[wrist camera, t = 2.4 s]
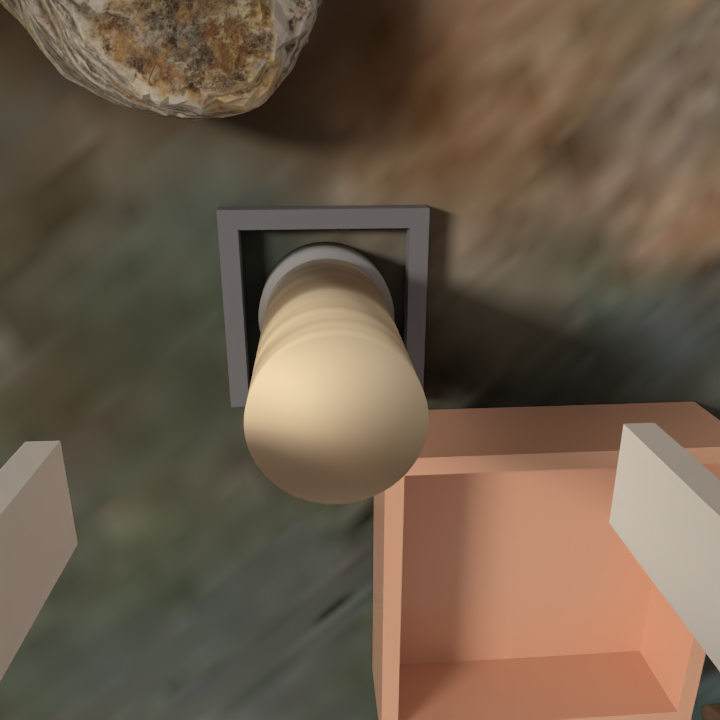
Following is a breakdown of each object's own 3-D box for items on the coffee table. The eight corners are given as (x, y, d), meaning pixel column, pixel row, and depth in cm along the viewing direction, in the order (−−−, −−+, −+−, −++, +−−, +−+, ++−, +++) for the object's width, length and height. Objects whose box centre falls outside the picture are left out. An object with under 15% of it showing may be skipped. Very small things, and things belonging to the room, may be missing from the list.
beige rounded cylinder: (258, 242, 28) (225, 327, 17) (389, 241, 28) (444, 323, 17) (264, 366, 30) (239, 517, 19) (387, 363, 30) (435, 509, 19)
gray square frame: (219, 206, 27) (216, 210, 26) (425, 204, 28) (429, 208, 27) (233, 398, 30) (231, 407, 29) (419, 392, 31) (422, 401, 30)
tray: (374, 411, 31) (385, 459, 27) (694, 401, 32) (753, 445, 28) (372, 669, 36) (381, 743, 32) (646, 652, 38) (689, 722, 33)
